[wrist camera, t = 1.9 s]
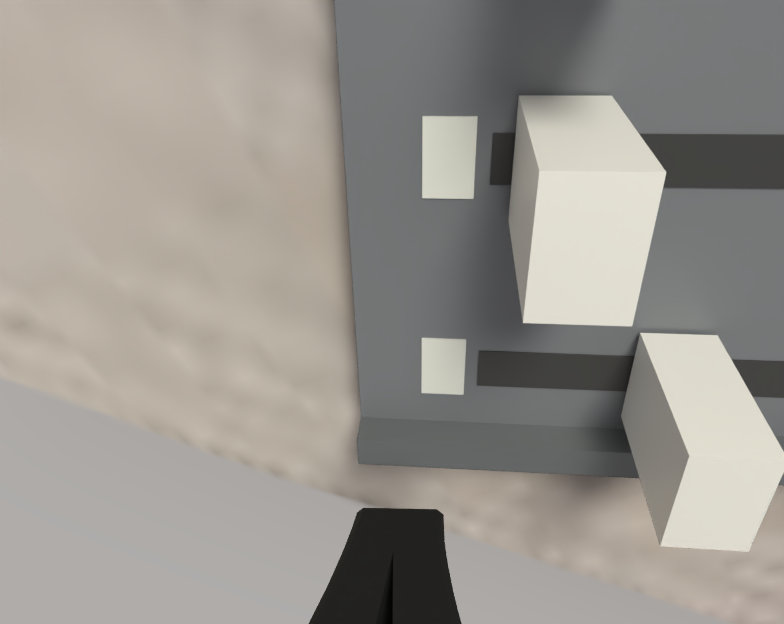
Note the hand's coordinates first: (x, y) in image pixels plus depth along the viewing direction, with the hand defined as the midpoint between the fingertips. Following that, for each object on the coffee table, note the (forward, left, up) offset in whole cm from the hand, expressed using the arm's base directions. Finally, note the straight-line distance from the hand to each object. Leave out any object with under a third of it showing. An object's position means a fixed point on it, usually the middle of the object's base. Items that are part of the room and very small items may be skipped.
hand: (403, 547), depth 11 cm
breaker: (-3, -5, -5) cm, 7 cm away
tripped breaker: (-6, 0, -5) cm, 7 cm away
